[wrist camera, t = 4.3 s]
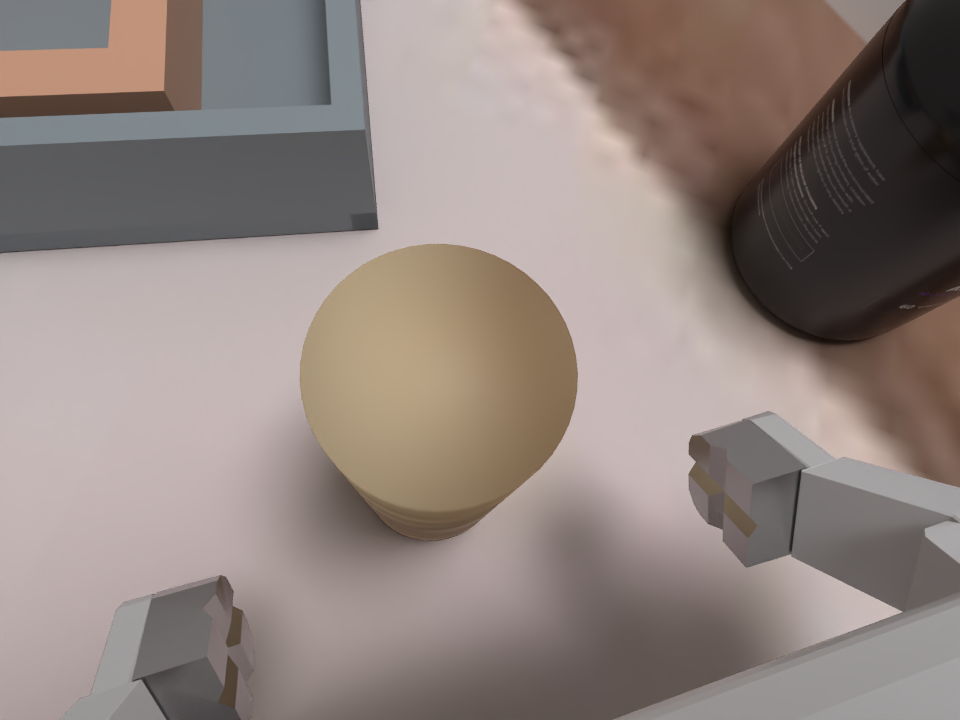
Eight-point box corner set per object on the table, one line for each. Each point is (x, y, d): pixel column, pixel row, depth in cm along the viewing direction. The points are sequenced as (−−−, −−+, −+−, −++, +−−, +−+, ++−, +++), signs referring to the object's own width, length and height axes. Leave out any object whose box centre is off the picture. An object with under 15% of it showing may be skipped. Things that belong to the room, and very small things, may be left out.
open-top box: (-314, 272, 19) (-564, 171, 14) (-215, -85, 23) (-382, -255, 18) (378, 228, 21) (365, 129, 16) (353, -88, 25) (336, -240, 20)
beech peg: (367, 548, 18) (305, 525, 8) (358, 409, 19) (294, 252, 10) (508, 531, 18) (599, 492, 9) (491, 397, 20) (555, 236, 10)
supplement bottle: (890, 381, 21) (1450, 157, 9) (696, 292, 21) (1011, -25, 10) (933, 217, 23) (1433, -127, 12) (757, 138, 23) (1072, -267, 12)
